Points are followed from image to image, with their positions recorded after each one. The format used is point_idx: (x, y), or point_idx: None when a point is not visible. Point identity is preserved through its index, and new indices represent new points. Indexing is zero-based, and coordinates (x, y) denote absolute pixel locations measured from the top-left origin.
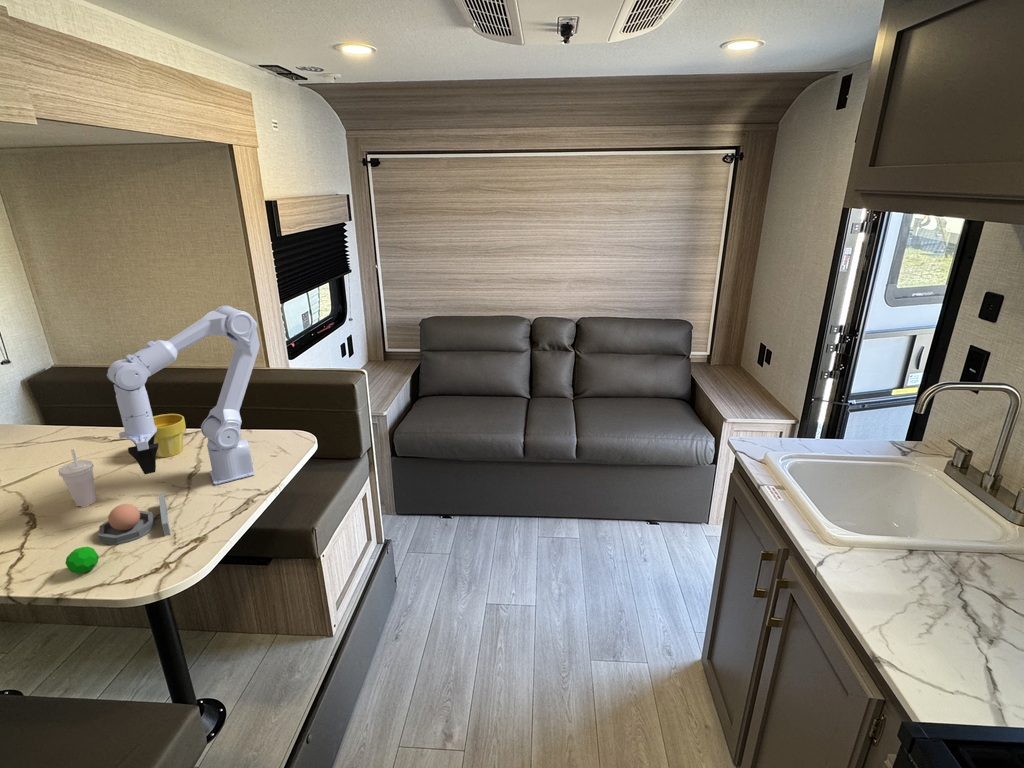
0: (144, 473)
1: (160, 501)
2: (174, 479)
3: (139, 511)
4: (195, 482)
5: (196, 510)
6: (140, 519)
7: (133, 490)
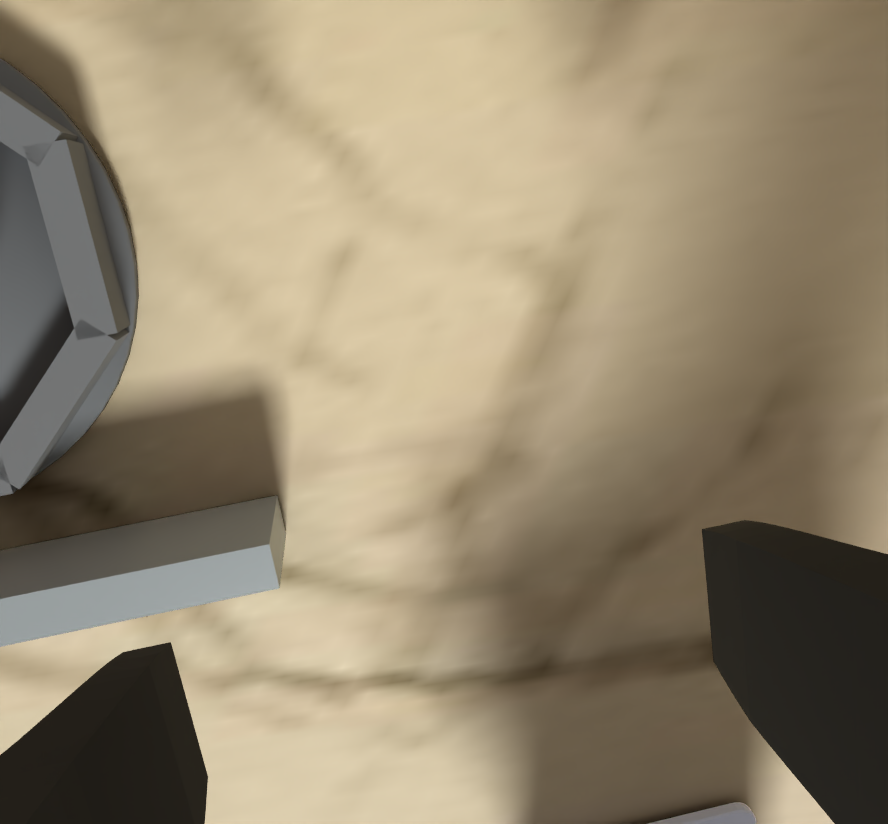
0: (113, 661)
1: (94, 590)
2: None
3: (77, 368)
4: (614, 706)
5: None
6: (19, 367)
7: (714, 191)
